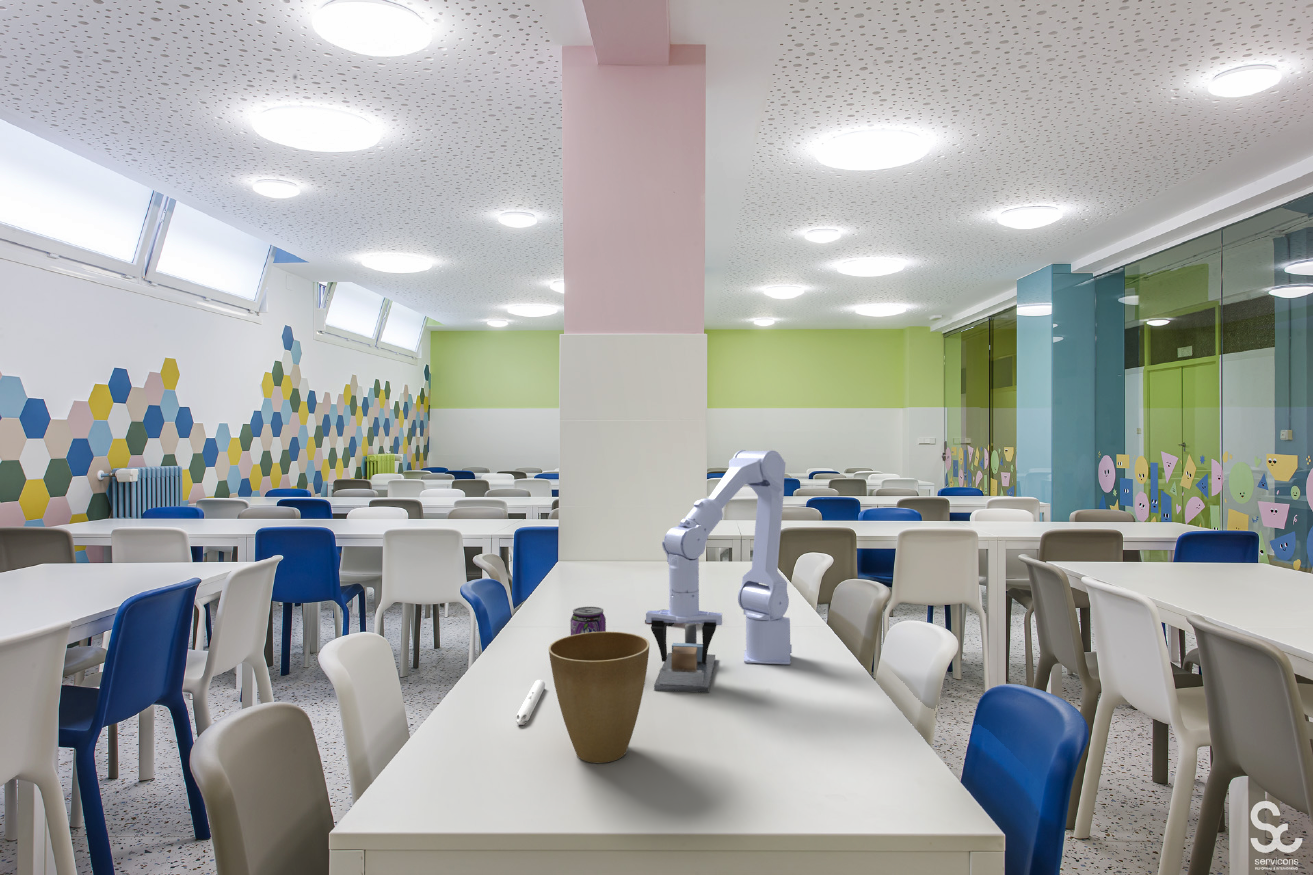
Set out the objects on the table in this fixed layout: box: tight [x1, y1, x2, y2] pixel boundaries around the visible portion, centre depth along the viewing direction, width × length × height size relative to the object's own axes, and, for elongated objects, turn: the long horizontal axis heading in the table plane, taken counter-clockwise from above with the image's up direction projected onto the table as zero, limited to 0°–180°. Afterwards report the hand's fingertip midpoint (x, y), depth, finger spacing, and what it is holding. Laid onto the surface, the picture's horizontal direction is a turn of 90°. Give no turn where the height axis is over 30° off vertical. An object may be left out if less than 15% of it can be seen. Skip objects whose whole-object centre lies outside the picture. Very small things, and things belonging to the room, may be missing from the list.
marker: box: [515, 679, 546, 726], centre depth 122 cm, size 18×2×2 cm, turn 179°
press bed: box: [653, 652, 716, 694], centre depth 139 cm, size 20×10×4 cm, turn 171°
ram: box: [671, 623, 703, 662], centre depth 145 cm, size 6×7×6 cm
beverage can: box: [570, 606, 607, 636], centre depth 142 cm, size 7×7×12 cm
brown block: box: [670, 647, 697, 670], centre depth 135 cm, size 4×4×5 cm
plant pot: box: [548, 631, 651, 764], centre depth 104 cm, size 15×15×16 cm
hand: (684, 660), depth 135 cm, fingers open, 7 cm apart
